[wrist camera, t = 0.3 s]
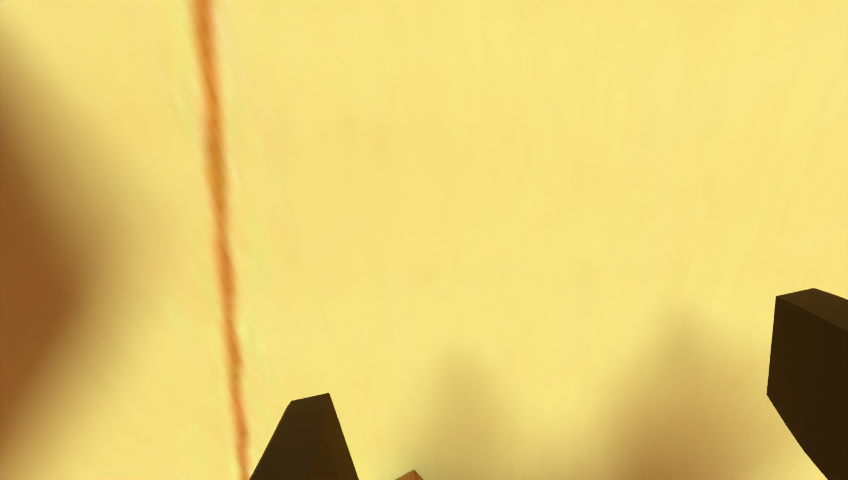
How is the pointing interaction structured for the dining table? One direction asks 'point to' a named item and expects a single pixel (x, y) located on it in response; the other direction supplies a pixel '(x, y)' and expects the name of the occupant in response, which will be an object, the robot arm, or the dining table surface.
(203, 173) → the dining table surface
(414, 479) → the parallel wooden rails
